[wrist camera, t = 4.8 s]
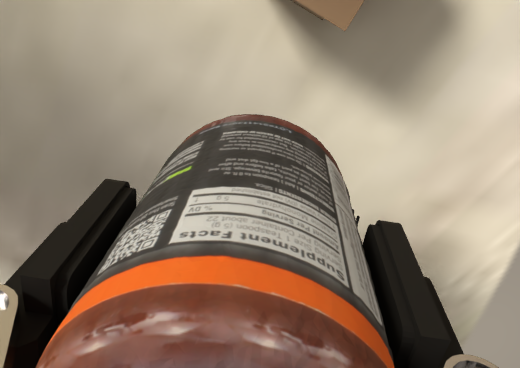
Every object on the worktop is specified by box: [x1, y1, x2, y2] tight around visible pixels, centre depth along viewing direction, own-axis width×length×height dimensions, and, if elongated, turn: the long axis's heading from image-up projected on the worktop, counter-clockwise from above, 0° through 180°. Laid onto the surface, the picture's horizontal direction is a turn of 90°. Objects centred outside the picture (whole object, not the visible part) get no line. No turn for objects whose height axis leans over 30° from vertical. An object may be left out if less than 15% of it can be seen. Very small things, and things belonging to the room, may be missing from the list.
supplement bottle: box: [36, 114, 395, 368], centre depth 9 cm, size 6×6×11 cm
